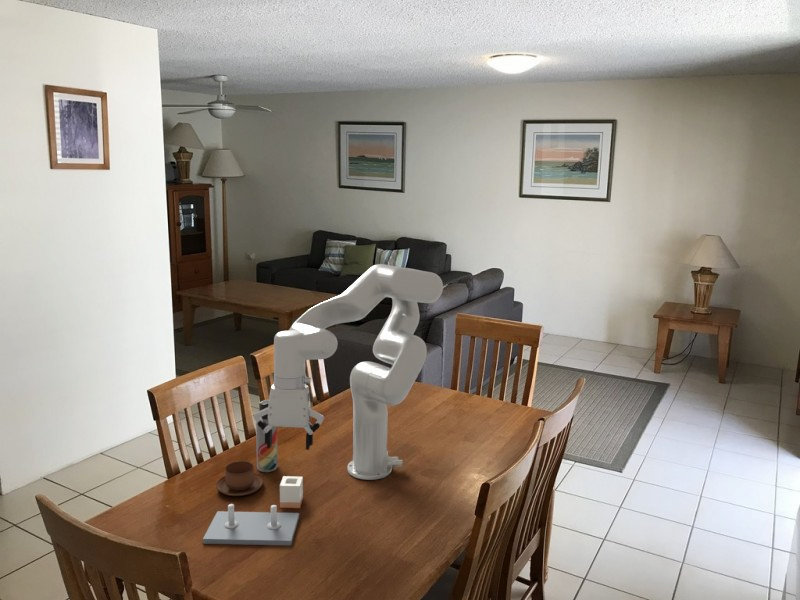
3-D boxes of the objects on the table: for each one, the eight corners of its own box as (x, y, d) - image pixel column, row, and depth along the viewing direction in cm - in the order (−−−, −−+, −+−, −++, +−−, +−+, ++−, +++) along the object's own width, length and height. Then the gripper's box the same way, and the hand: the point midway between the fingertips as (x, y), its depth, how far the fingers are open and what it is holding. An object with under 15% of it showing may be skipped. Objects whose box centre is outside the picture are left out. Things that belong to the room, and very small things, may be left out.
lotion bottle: (272, 473, 183) (271, 405, 179) (253, 471, 185) (252, 403, 180) (280, 464, 189) (279, 398, 185) (262, 462, 190) (260, 396, 186)
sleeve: (302, 498, 171) (302, 476, 169) (299, 507, 166) (299, 486, 164) (283, 497, 171) (283, 476, 169) (280, 507, 166) (279, 485, 164)
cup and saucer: (213, 482, 178) (212, 461, 177) (258, 475, 183) (257, 454, 181) (220, 503, 167) (219, 481, 166) (267, 495, 172) (266, 473, 171)
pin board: (299, 517, 161) (298, 494, 160) (291, 545, 150) (290, 520, 148) (217, 515, 161) (216, 492, 160) (203, 543, 150) (201, 518, 148)
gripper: (326, 378, 165) (325, 442, 168) (257, 375, 165) (257, 439, 168) (322, 387, 158) (321, 454, 161) (250, 384, 158) (250, 451, 161)
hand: (288, 446), depth 165 cm, fingers open, 9 cm apart
